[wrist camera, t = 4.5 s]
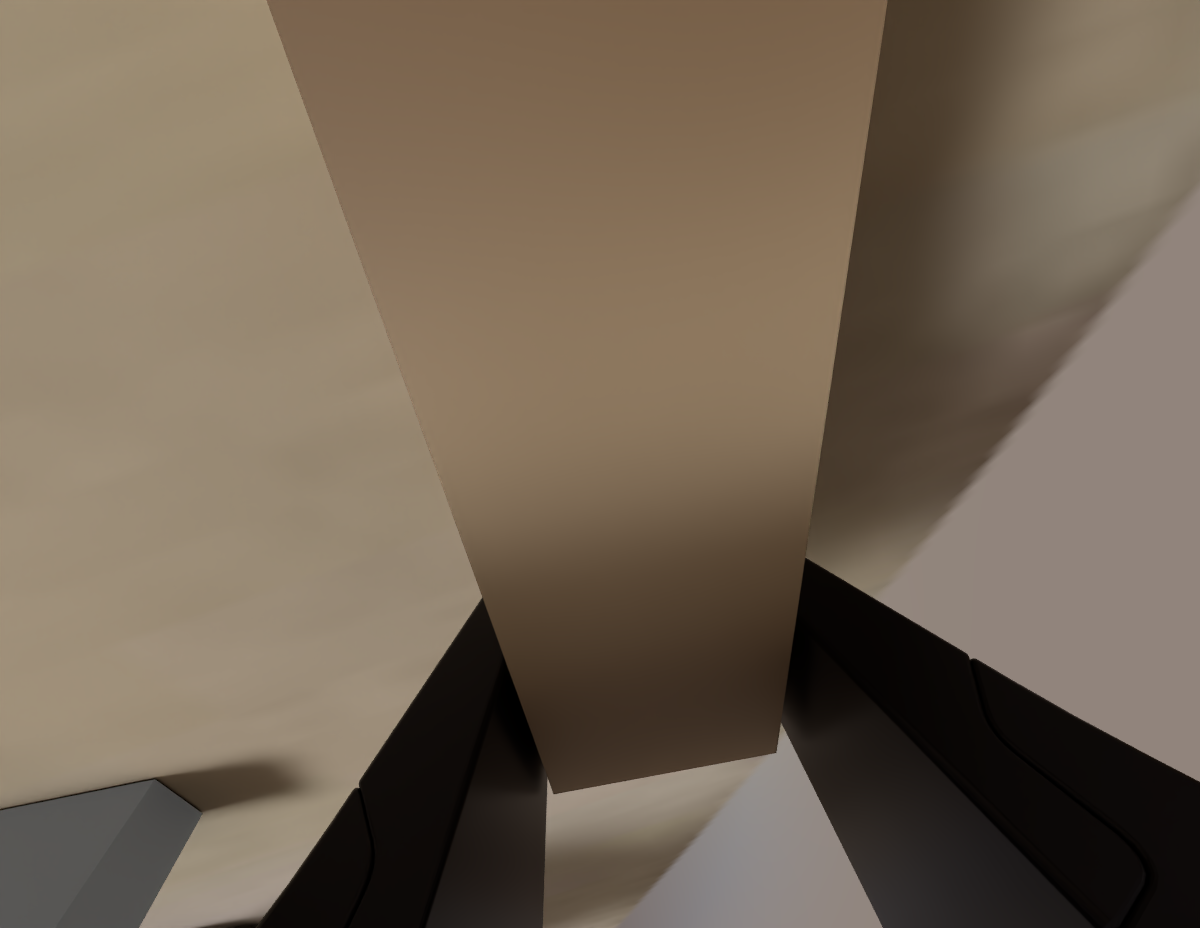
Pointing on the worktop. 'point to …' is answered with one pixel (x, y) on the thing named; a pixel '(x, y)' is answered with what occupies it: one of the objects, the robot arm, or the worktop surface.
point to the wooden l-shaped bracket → (611, 327)
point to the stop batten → (90, 856)
